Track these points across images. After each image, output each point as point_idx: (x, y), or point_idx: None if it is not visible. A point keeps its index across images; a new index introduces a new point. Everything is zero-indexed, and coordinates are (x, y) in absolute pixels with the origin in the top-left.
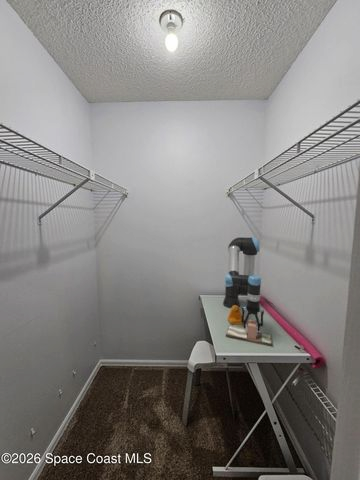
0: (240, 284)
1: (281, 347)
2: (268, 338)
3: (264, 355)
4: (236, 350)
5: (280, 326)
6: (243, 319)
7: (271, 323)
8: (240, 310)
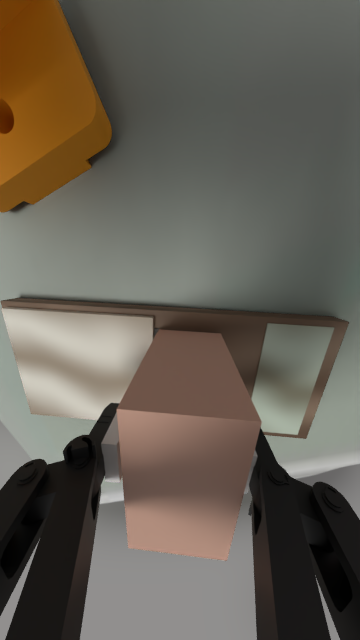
0: None
1: (350, 418)
2: (300, 387)
3: None
4: (121, 480)
5: None
6: (28, 506)
7: None
8: None
